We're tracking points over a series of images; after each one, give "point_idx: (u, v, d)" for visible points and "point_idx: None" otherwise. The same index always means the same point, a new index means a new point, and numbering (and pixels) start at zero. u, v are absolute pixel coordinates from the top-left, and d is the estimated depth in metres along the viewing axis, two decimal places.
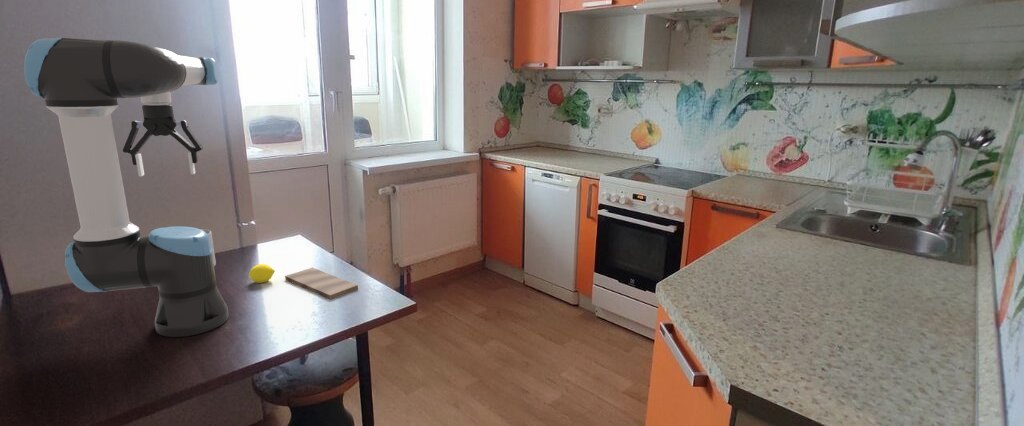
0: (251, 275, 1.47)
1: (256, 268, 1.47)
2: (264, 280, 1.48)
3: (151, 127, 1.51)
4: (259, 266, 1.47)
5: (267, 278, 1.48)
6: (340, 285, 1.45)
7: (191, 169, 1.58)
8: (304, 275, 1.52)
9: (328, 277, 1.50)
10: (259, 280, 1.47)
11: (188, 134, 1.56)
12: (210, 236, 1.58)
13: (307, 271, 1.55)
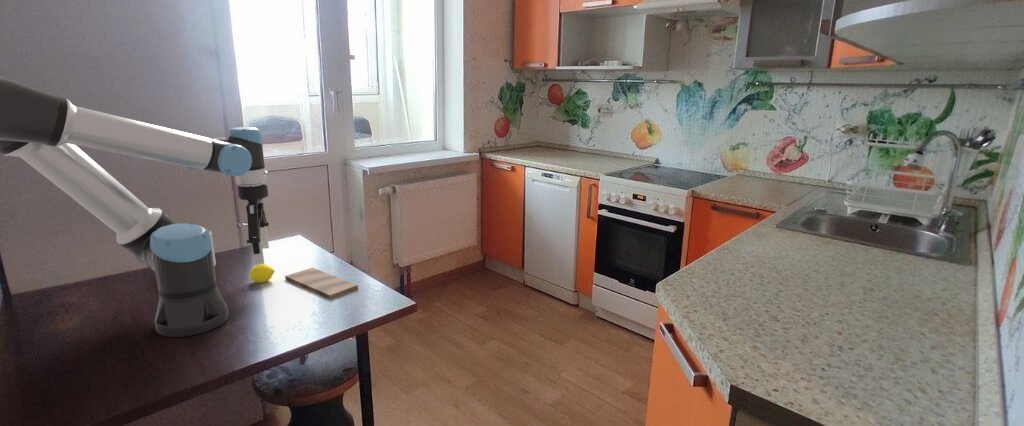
0: (251, 275, 1.47)
1: (256, 268, 1.47)
2: (264, 280, 1.48)
3: None
4: (259, 266, 1.47)
5: (267, 278, 1.48)
6: (340, 285, 1.45)
7: None
8: (304, 275, 1.52)
9: (328, 277, 1.50)
10: (259, 280, 1.47)
11: None
12: (210, 236, 1.58)
13: (307, 271, 1.55)
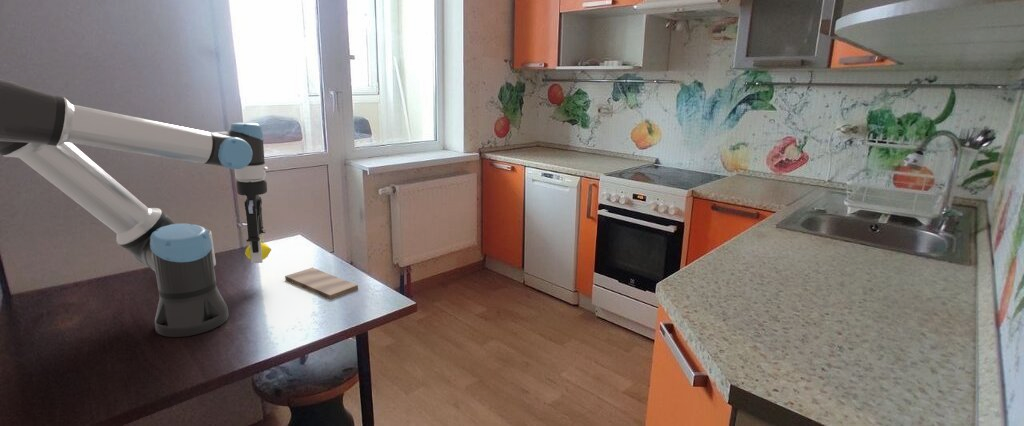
0: (247, 253, 1.45)
1: None
2: None
3: None
4: None
5: (263, 256, 1.46)
6: (340, 285, 1.45)
7: (251, 257, 1.44)
8: (304, 275, 1.52)
9: (328, 277, 1.50)
10: None
11: None
12: (210, 236, 1.58)
13: (307, 271, 1.55)
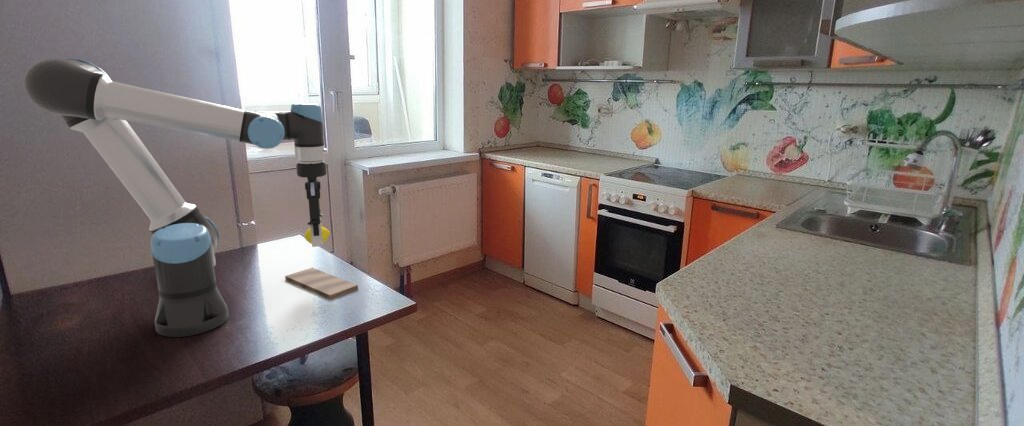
0: (307, 236, 1.42)
1: None
2: None
3: None
4: None
5: (323, 239, 1.44)
6: (340, 285, 1.45)
7: None
8: (304, 275, 1.52)
9: (328, 277, 1.50)
10: None
11: None
12: None
13: (307, 271, 1.55)
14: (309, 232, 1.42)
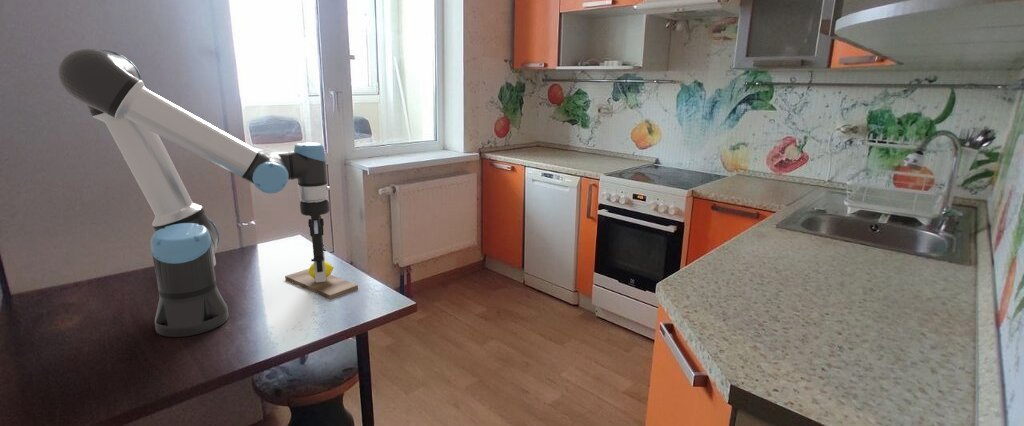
0: (311, 272, 1.45)
1: None
2: None
3: None
4: None
5: (327, 275, 1.46)
6: (340, 285, 1.45)
7: (315, 276, 1.44)
8: (304, 275, 1.52)
9: (328, 277, 1.50)
10: None
11: (312, 241, 1.39)
12: None
13: (307, 271, 1.55)
14: (313, 268, 1.45)
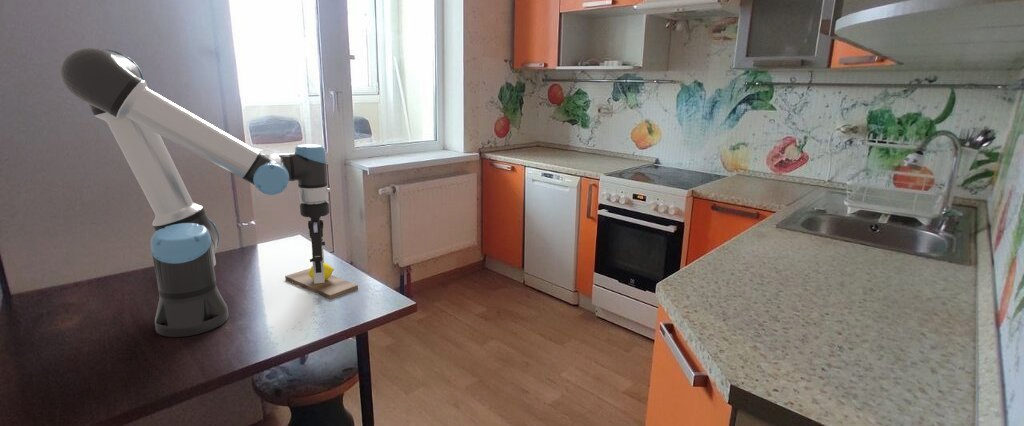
0: (311, 274, 1.45)
1: None
2: None
3: (308, 223, 1.45)
4: None
5: (327, 277, 1.46)
6: (340, 285, 1.45)
7: None
8: (304, 275, 1.52)
9: None
10: None
11: (311, 240, 1.38)
12: None
13: (307, 271, 1.55)
14: None
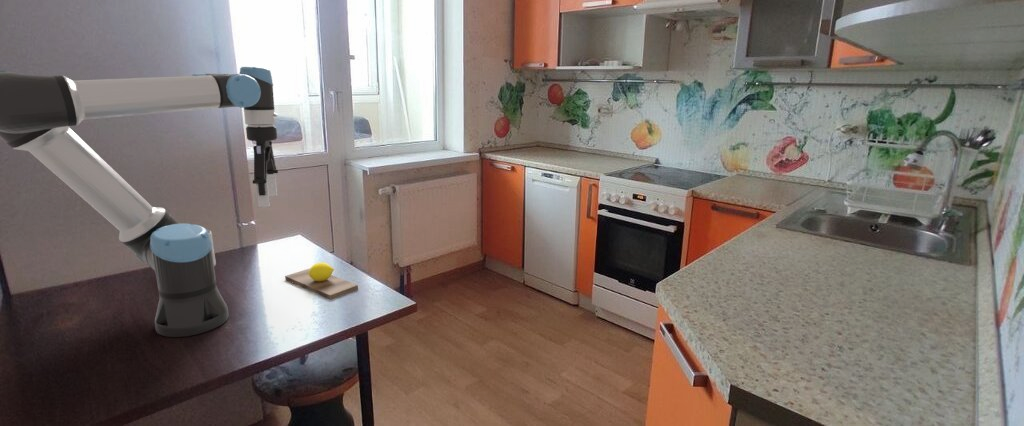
0: (311, 274, 1.45)
1: (316, 266, 1.45)
2: (324, 279, 1.46)
3: None
4: (319, 265, 1.46)
5: (327, 277, 1.46)
6: (340, 285, 1.45)
7: (258, 201, 1.39)
8: (304, 275, 1.52)
9: None
10: (319, 279, 1.46)
11: None
12: (210, 236, 1.58)
13: (307, 271, 1.55)
14: (313, 270, 1.45)
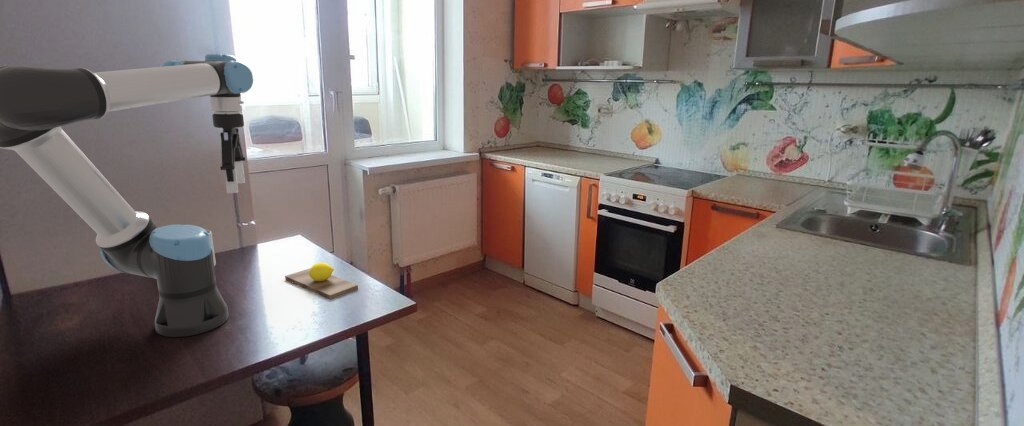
0: (311, 274, 1.45)
1: (316, 266, 1.45)
2: (324, 279, 1.46)
3: None
4: (319, 265, 1.46)
5: (327, 277, 1.46)
6: (340, 285, 1.45)
7: (226, 187, 1.40)
8: (304, 275, 1.52)
9: None
10: (319, 279, 1.46)
11: None
12: (210, 236, 1.58)
13: (307, 271, 1.55)
14: (313, 270, 1.45)
